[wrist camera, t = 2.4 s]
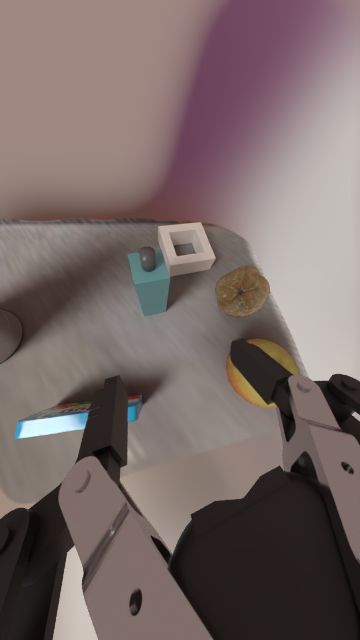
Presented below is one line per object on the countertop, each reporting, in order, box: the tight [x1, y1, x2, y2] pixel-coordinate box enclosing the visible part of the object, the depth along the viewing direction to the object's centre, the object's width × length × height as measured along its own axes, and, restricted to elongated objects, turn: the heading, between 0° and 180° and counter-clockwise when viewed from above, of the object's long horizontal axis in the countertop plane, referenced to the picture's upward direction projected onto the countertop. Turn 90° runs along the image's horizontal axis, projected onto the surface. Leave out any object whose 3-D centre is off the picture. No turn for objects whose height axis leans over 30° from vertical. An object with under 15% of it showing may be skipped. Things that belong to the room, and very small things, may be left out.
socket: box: [158, 222, 216, 276], centre depth 29 cm, size 9×9×4 cm
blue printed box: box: [14, 395, 143, 439], centre depth 18 cm, size 12×2×6 cm, turn 95°
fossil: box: [215, 266, 270, 317], centre depth 27 cm, size 9×4×10 cm
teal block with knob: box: [127, 247, 170, 316], centre depth 21 cm, size 4×4×13 cm
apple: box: [226, 338, 299, 408], centre depth 22 cm, size 10×10×8 cm
